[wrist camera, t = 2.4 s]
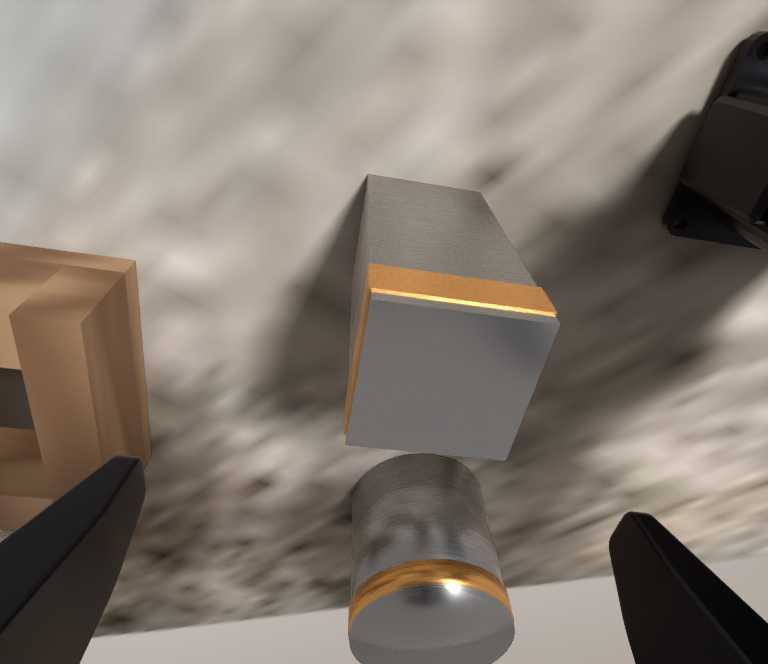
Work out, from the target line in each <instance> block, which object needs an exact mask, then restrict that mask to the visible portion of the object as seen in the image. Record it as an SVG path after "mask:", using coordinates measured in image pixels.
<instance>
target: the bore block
mask: <svg viewBox="0 0 768 664" xmlns="http://www.w3.org/2000/svg"><path fill="white" fill-rule="evenodd" d="M117 455H128V456H137V457H140V458H141V459H142V461H143V468H144V470H145V468H146V466H147V464H148V462H149V459H150V457H151V443H150V431H149V419H148V407H147V395H146V383H145V371H144V359H143V346H142V334H141V322H140V310H139V298H138V286H137V274H136V262H135V261H134V260H126V259H119V258H111V257H104V256H97V255H89V254H82V253H74V252H67V251H60V250H52V249H45V248H37V247H30V246H23V245H15V244H8V243H0V529H3V530H18V529H19V528H20V527H22V526H23V525H24V524H26V523H27V522H28V521H30V520H31V519H32V518H34V517H35V516H36V515H37V514H39V513H40V512H41V511H43V510H44V509H45V508H47V507H48V506H49V505H51V504H52V503H53V502H55V501H56V500H57V499H59V498H60V497H61V496H63V495H64V494H65V493H66V492H68V491H69V490H70V489H72V488H73V487H74V486H76V485H77V484H78V483H80V482H81V481H82V480H84V479H85V478H86V477H88V476H89V475H90V474H91V473H93V472H94V471H95V470H97V469H98V468H99V467H101V466H102V465H103V464H105V463H106V462H107V461H109V460H110V459H111V458H113V457H114V456H117Z"/></svg>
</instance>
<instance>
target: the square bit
mask: <svg viewBox="0 0 768 664" xmlns="http://www.w3.org/2000/svg"><path fill="white" fill-rule="evenodd" d="M557 314H558V313H557V311H556V309H555V308H554V306H553V305H552V303H551V301H550V300H549V298H548V297H547V295H546V293H545V292H544V290H543V289H542V288H541V287H538V286H537V285H536V283H535V281H534V280H533V278H532V277H531V275H530V273H529V272H528V270H527V268H526V267H525V265H524V263H523V262H522V260H521V259H520V257H519V255H518V254H517V252H516V250H515V249H514V247H513V245H512V244H511V242H510V241H509V239H508V237H507V236H506V234H505V232H504V231H503V229H502V227H501V226H500V224H499V223H498V221H497V219H496V218H495V216H494V214H493V213H492V211H491V209H490V208H489V206H488V204H487V203H486V201H485V200H484V198H483V196H482V195H481V193H480V192H475V191H469V190H463V189H456V188H450V187H444V186H438V185H432V184H425V183H419V182H413V181H407V180H401V179H395V178H388V177H382V176H376V175H370V174H368V177H367V184H366V190H365V197H364V203H363V210H362V216H361V223H360V229H359V236H358V242H357V249H356V255H355V262H354V268H353V275H352V292H351V317H350V342H349V368H348V388H347V394H346V400H345V415H344V435H346V443H345V445H351V446H361V447H371V448H381V449H391V450H401V451H411V452H421V453H431V454H441V455H451V456H461V457H471V458H481V459H491V460H500V461H506V459H507V457H508V454H509V452H510V449H511V447H512V444H513V442H514V439H515V437H516V434H517V432H518V429H519V427H520V424H521V422H522V420H523V417H524V415H525V412H526V410H527V407H528V405H529V402H530V400H531V397H532V395H533V392H534V390H535V387H536V385H537V382H538V380H539V377H540V375H541V372H542V370H543V367H544V365H545V362H546V360H547V358H548V355H549V353H550V350H551V348H552V345H553V343H554V340H555V338H556V335H557V333H558V330H559V328H560V325H561V324H560V322H559V321H558V319H557V318H556V317H557Z"/></svg>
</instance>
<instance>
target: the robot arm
mask: <svg viewBox="0 0 768 664" xmlns="http://www.w3.org/2000/svg"><path fill="white" fill-rule="evenodd" d="M763 42H764V43H765V50H764V52H763V53H762V55H761V56H760V57H758V58H757V56H756V52H757V49H758V47H759V46H760V44H762V43H763ZM680 178H681V179H680V181H679V183H678V186H677V188H676V190H675V192H674V194H673V196H672V199H671V201H670V203H669V205H668V207H667V209H666V211H665V214H664V216H663V219H662V226H663V228H664V229H665V230H666V231H667V232H669V233H670V234H672V235H674V236H680V237H686V238H692V239H699V240H705V241H711V242H718V243H724V244H730V245H736V246H743V247H749V248H755V249H762V250H764V251H765V252H767V253H768V31H759V32H757V33H755V34H752V35H751V36H750V37H749V38H748V39H747V40H746V41H745V43H744V44H743V46H742V47H741V50H740V52H739V54H738V56H737V58H736V60H735V63H734V65H733V67H732V69H731V71H730V73H729V75H728V78H727V80H726V82H725V84H724V86H723V88H722V91H721V93H720V95H719V97H718V99H717V100H716V101H715V102H714V103H713V104H712V106H711V109H710V111H709V113H708V115H707V117H706V119H705V122H704V124H703V126H702V128H701V130H700V132H699V135H698V137H697V139H696V141H695V143H694V145H693V148H692V150H691V152H690V154H689V156H688V158H687V161H686V163H685V165H684V167H683V169H682V171H681V174H680ZM680 216H683V219H682V221H681V222H680V223H679V224H677V225H674V223H675V221H676V219H677V218H679V217H680ZM145 491H146V487H145V477H144V468H143V461H142V459H141V458H140V457H137V456H128V455H117V456H114V457H113V458H111V459H110V460H109V461H107V462H106V463H105V464H103V465H102V466H101V467H99V468H98V469H97V470H95V471H94V472H93V473H91V474H90V475H89V476H88V477H86V478H85V479H84V480H82V481H81V482H80V483H78V484H77V485H76V486H74V487H73V488H72V489H70V490H69V491H68V492H66V493H65V494H64V495H63V496H61V497H60V498H59V499H57V500H56V501H55V502H53V503H52V504H51V505H49V506H48V507H47V508H45V509H44V510H43V511H41V512H40V513H39V514H37V515H36V516H35V517H34V518H32V519H31V520H30V521H28V522H27V523H26V524H24V525H23V526H22V527H20V528H19V529H18V530H16V531H15V532H14V533H12V534H11V535H10V536H9V537H7V538H6V539H5V540H3V541H2V542H1V543H0V664H80V661H81V659H82V657H83V655H84V653H85V651H86V648H87V646H88V644H89V642H90V640H91V638H92V635H93V633H94V631H95V629H96V627H97V625H98V622H99V620H100V618H101V616H102V614H103V612H104V609H105V607H106V605H107V603H108V601H109V599H110V596H111V594H112V592H113V589H114V587H115V584H116V582H117V579H118V576H119V573H120V570H121V567H122V564H123V561H124V558H125V555H126V552H127V550H128V547H129V544H130V541H131V538H132V535H133V532H134V529H135V526H136V523H137V520H138V517H139V514H140V511H141V508H142V505H143V502H144V498H145ZM609 552H610V557H611V562H612V567H613V572H614V577H615V581H616V586H617V591H618V596H619V601H620V606H621V611H622V616H623V620H624V625H625V629H626V633H627V636H628V640H629V643H630V647H631V650H632V653H633V657H634V660H635V663H636V664H768V623H767V622H766V621H765V620H764V619H763V618H762V617H761V616H759V615H758V614H757V613H756V612H755V611H754V610H753V609H752V608H751V607H750V606H749V605H748V604H746V603H745V602H744V601H743V600H742V599H741V598H740V597H739V596H738V595H737V594H736V593H735V592H734V591H733V590H732V589H730V588H729V587H728V586H727V585H726V584H725V583H724V582H723V581H721V579H720V578H718V576H716V575H715V574H714V573H713V572H712V571H711V570H710V569H709V568H708V567H707V566H706V565H705V564H704V563H703V562H701V561H700V560H699V559H698V558H697V557H696V556H695V555H694V554H693V553H692V552H691V551H690V550H689V549H688V548H686V547H685V546H684V545H683V544H682V543H681V542H680V541H679V540H678V539H677V538H676V537H675V536H674V535H672V534H671V533H670V532H669V531H668V530H667V529H666V528H665V527H664V526H663V525H662V524H661V523H660V522H659V521H657V520H656V519H655V518H654V517H653V516H652V515H650V514H647V513H641V512H632V511H631V512H627V513H626V514H625V515H624V516H623V518H622V519H621V521H620V522H619V524H618V526H617V527H616V529H615V530H614V532H613V534H612V535H611V537H610V541H609Z"/></svg>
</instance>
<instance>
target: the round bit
mask: <svg viewBox="0 0 768 664" xmlns="http://www.w3.org/2000/svg"><path fill="white" fill-rule="evenodd" d="M514 634H515V632H514V619H513V615H512V610H511V606H510V603H509V599H508V594H507V591H506V589H505V587H504V583H503V578H502V574H501V570H500V566H499V562H498V558H497V554H496V549H495V545H494V541H493V537H492V533H491V529H490V525H489V520H488V516H487V512H486V508H485V504H484V500H483V496H482V491H481V487H480V484H479V482H478V480H477V478H476V476H475V475H474V474H473V472H471V471H470V470H469V469H468V468H467V467H466V466H464V465H463V464H461V463H460V462H458V461H456V460H453V459H451V458H448V457H445V456H441V455H435V454H424V453H420V454H408V455H402V456H398V457H394V458H391V459H388V460H386V461H384V462H382V463H379V464H378V465H376V466H375V467H373V468H372V469H370V470H369V471H368V472H366V474H365V475H364V476H363V477H362V478H361V479H360V480H359V482H358V483H357V485H356V487H355V489H354V493H353V499H352V540H351V587H350V604H349V625H348V635H349V643H350V648H351V651H352V653H353V655H354V656H355V658H356V659H357V660H358V661H359V662H360V663H361V664H492V663H493V662H495V661H496V660H498V659H499V658H500V657H501V656H502V655H503V654H504V653H505V652H506V651H507V650H508V648H509V647H510V645H511V644H512V641H513V639H514Z"/></svg>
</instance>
